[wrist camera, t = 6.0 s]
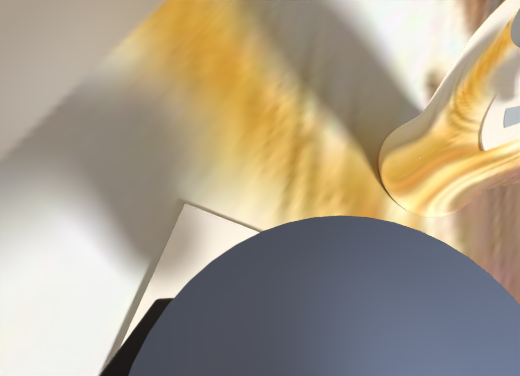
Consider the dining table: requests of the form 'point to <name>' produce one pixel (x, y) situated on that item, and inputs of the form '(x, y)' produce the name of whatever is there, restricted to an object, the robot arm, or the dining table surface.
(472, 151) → the beer glass
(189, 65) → the dining table surface
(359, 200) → the dining table surface
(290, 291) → the blue capped bottle
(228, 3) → the dining table surface
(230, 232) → the cream square base plate
